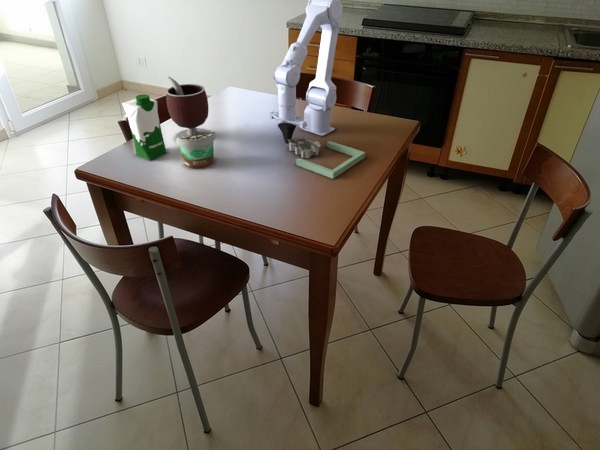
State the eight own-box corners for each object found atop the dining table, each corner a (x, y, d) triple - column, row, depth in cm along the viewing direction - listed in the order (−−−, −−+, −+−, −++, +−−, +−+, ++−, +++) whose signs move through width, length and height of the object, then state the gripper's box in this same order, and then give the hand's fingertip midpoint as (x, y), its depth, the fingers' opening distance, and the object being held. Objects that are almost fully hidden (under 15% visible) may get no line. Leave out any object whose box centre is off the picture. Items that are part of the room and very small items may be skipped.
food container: (185, 174, 131) (179, 144, 125) (180, 166, 135) (174, 136, 130) (223, 165, 136) (219, 136, 130) (217, 157, 140) (213, 129, 134)
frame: (296, 165, 135) (296, 159, 134) (329, 146, 147) (329, 140, 145) (333, 178, 128) (333, 173, 127) (364, 157, 139) (365, 152, 138)
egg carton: (322, 154, 141) (322, 143, 139) (303, 160, 138) (303, 149, 136) (304, 143, 149) (304, 132, 146) (286, 148, 145) (285, 137, 143)
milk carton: (149, 162, 138) (135, 102, 126) (132, 155, 142) (116, 96, 130) (170, 152, 143) (158, 94, 132) (153, 146, 148) (140, 88, 136)
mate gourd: (220, 135, 155) (213, 80, 143) (190, 148, 146) (180, 90, 135) (193, 125, 163) (184, 72, 151) (163, 136, 154) (151, 81, 143)
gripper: (262, 102, 139) (264, 141, 147) (296, 112, 132) (296, 152, 139) (276, 97, 144) (278, 134, 151) (310, 106, 136) (310, 145, 144)
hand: (288, 142), depth 146 cm, fingers closed
